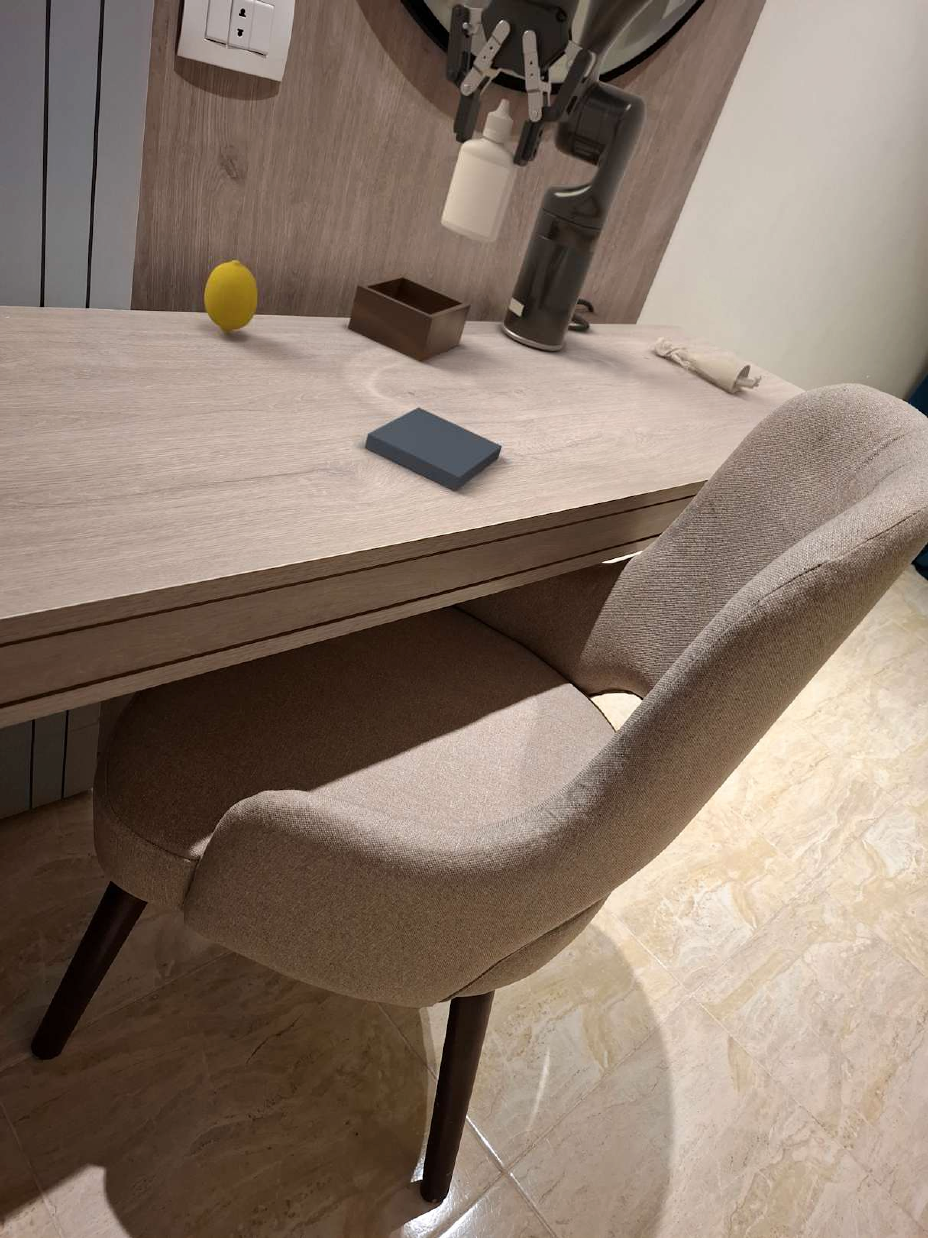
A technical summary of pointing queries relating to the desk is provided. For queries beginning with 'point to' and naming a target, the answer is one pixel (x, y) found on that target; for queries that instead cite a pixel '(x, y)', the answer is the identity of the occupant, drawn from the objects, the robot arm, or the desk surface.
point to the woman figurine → (710, 367)
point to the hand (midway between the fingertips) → (490, 152)
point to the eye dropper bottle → (482, 181)
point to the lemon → (231, 296)
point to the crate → (408, 316)
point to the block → (434, 447)
